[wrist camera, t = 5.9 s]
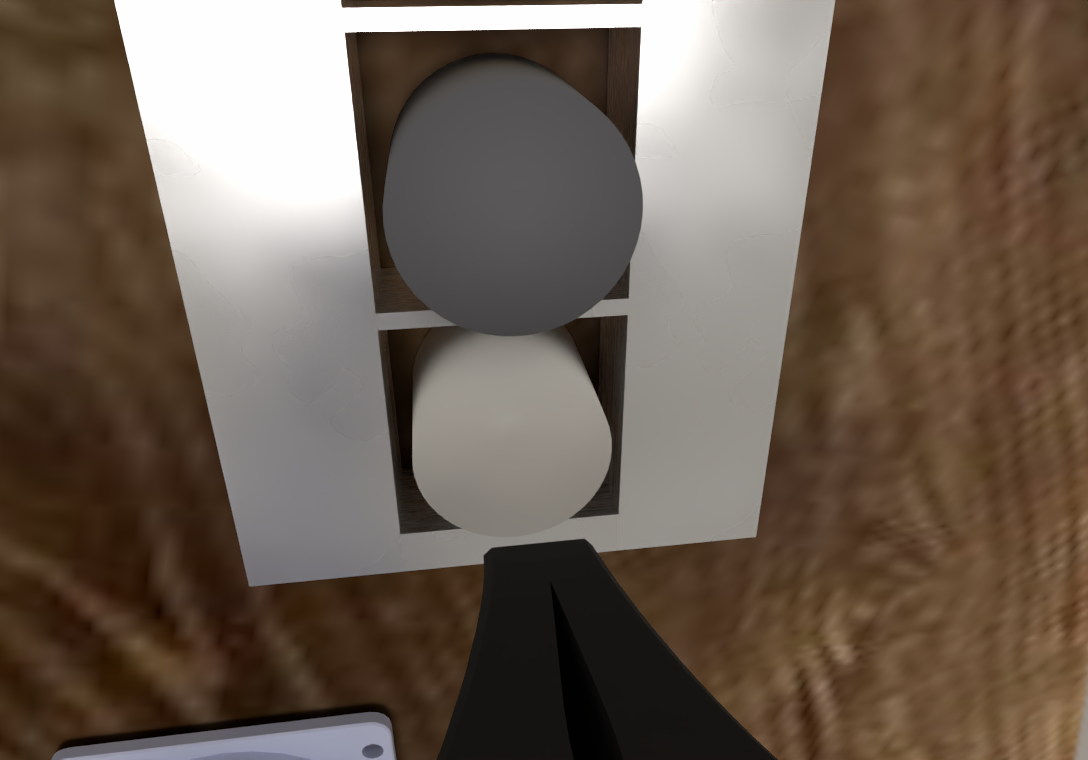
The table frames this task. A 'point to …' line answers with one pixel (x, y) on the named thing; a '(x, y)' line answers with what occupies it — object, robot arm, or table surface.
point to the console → (388, 303)
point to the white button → (506, 430)
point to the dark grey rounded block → (508, 197)
